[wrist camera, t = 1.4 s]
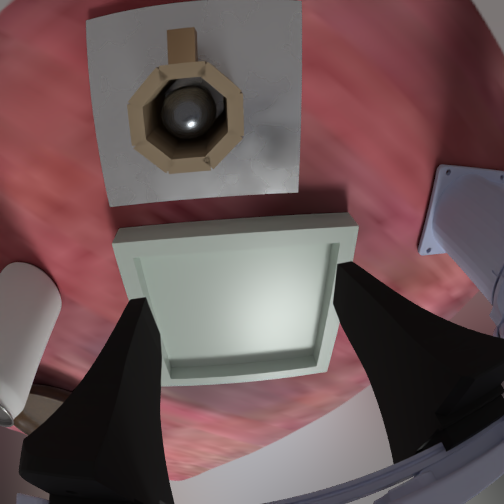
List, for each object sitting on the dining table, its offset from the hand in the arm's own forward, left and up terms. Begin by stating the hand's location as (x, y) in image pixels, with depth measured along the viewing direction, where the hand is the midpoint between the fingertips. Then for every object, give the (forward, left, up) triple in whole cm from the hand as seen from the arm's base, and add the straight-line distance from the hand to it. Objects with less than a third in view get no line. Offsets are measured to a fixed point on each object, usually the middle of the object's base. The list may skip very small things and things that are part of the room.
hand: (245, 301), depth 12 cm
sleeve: (+2, -6, -10) cm, 11 cm away
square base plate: (+2, -6, -10) cm, 12 cm away
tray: (0, +10, -10) cm, 14 cm away
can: (+18, +7, -11) cm, 22 cm away
